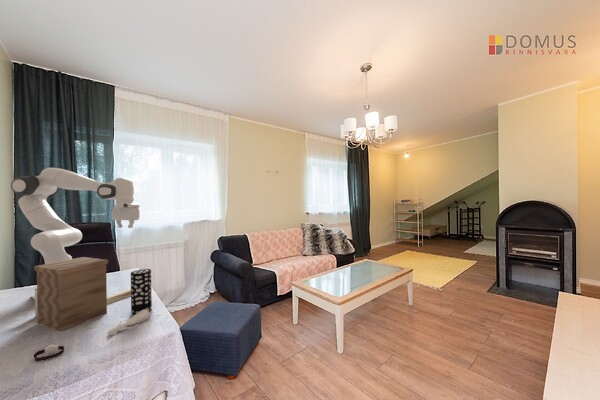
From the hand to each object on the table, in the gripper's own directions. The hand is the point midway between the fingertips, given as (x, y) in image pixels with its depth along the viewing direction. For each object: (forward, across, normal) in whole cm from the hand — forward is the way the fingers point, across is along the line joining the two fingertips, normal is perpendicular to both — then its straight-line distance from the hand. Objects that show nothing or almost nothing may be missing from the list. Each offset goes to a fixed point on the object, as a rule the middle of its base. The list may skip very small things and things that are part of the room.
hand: (125, 227), depth 140 cm
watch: (+40, +36, -48) cm, 72 cm away
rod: (+39, +6, -6) cm, 40 cm away
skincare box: (+39, -8, -32) cm, 51 cm away
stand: (+39, +9, -29) cm, 49 cm away
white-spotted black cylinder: (+39, +34, -14) cm, 54 cm away
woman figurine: (+40, +42, -24) cm, 63 cm away
